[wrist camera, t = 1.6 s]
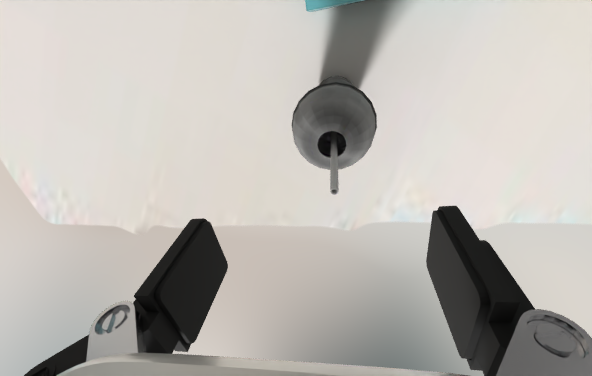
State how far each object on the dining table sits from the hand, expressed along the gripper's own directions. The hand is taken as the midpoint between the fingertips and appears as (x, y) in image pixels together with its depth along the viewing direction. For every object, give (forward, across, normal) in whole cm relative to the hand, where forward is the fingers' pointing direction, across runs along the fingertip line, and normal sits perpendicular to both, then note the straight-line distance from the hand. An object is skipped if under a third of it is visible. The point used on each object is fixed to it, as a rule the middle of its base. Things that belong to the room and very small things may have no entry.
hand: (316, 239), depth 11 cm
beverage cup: (+26, -1, 0) cm, 26 cm away
